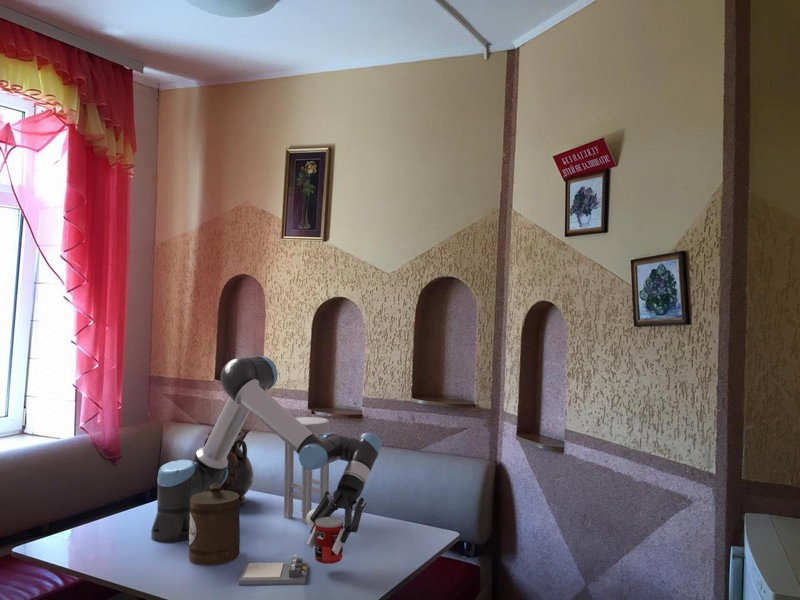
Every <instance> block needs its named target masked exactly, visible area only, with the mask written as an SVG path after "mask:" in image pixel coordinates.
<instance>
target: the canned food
mask: <svg viewBox="0 0 800 600" xmlns="http://www.w3.org/2000/svg"><path fill="white" fill-rule="evenodd" d="M341 529H344V520H343V519H342V518H340V517H335V516H330V517H322V518H319V519H317V520H316V523H315V545H314V559H315V561H316V562H318V563H320V564H325V565H326V564H327V565H331V564H332V565H333V564H336V563H339V562H340V561H342V558H343V549H344V548H343V547H344V545H343V544H344V543H343V544H342V546H341V548H340V551H339V553H338V555H336V554H335V553H334V552H333V551H332V548H333V546H334V544H335V541H336V539H337V537H338V535H339V532H340V530H341Z"/></svg>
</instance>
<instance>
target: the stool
mask: <svg viewBox="0 0 800 600" xmlns="http://www.w3.org/2000/svg"><path fill="white" fill-rule="evenodd" d="M295 418H296V419H297V420H298V421H299V422H300V423H302V424H303V425H304V426H305V427H306V428H307V429H308V430H309V431H311V432H312V433H313V434H314V435H315V436H319V435H320V437H322V435H323V434H324V433H331V432H330V430H331V429H330V424H331V423H330V420H329V419H327V418H323V417H318V416H317V417H316V416H315V417H314V416H312V417H311V416H304V417H295ZM294 452H295V450H293V449H292V448H291V447H290V446H289V445H288V444H287V443H286V442H285V441H284V479H283V480H284V483H283V484H284V486H283V488H284V490H283V518H284V519H287V518H290V519H292V518H294V498H297V499H301V513H302V514H301V515H302V516H301V518H302V519H301V521H302V522H301V523H302V524H305V523H306V525H308V524H307V521H306V517H307V514H308V513H309V512H310V511H311V510H312V497H313V496H312V495H313V493H317V494H319V503H320V502H321V501H322V499H323V497H324V494H325V492H326V491H328V492H329V493H330V463H329V464H327V465H325V466H323V467H321V468H319V469H320V472H319V473H320V474H319V475H320V477H319V478H320V479H319V480H317V479H313V470H307V469H305V468H304V467H303V466H302V465H301V485H299V484H296V483H294V457H295V456H294V455H295V453H294ZM312 484H314V485H318V486H319V488H315V487H312ZM294 489H296V490H300V491H301V493H298V492H294ZM312 492H313V493H312ZM328 506H329V505H328ZM328 506H327V507H328ZM291 517H292V518H291Z"/></svg>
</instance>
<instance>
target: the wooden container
mask: <svg viewBox="0 0 800 600" xmlns="http://www.w3.org/2000/svg"><path fill="white" fill-rule="evenodd" d="M220 489H221V486H220V485H219V484H218V483H214V484H212V485H211V486H210V490H211V491H207V492H202V493H198V494H195V495H193V496H192V497H191V498H190V527H189V539H188V547H189V549H188V550H189V551H188V559H189V561H190V562H192V563H193V564H196V565H200V566H216V565H217V566H218V565H223V564H226V563H229V562H232V561H235V560H236V559H238V557H239V556H240V550H241V549H240V546H241V545H240V544H241V543H240V541H241V540H240V538H241V535H240V534H241V532H240V531H241V527H240V525H241V524H240V523H241V522H240V521H241V520H240V507H239V502H240V499H239V494H238V493H236V492H232V491H220Z"/></svg>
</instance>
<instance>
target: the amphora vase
mask: <svg viewBox="0 0 800 600" xmlns="http://www.w3.org/2000/svg"><path fill="white" fill-rule="evenodd" d="M211 432H212V430H210V431H209V432H208V434H207V435H208V437H207V438H205V440H204V444H203V447H204V446H205V444H206V442H207V440H208V438H209V436H210V434H211ZM241 436H243V431H242V429H241V430H240V432H239V434H238V436H237V438H236V440H235V442H234V444H233V446H232V448H231V450H230V452H229V454H228V455H227V460H228V468H227V470H228V476H227V479H226V480H225V482H224V483H223V484H222V485H221V489H220V491H232V492H236V493H238V494H239V499H240V502H239V508H240V507H242V506H243V505H245V504H246V502H247V497H246V496H245V495H246V494H247V493H248V492H249V490H250V489H251V487H252V486H253V484H254V483H253V482H254V471H253V466H252V463H251V462H252V461H250V458H249V457H248V447H247V446H248V445H247V444H246V442H245V440H243V439H238V438H239V437H241ZM239 444H240V445H241V448H242V449H241V448H240V446H239Z"/></svg>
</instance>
